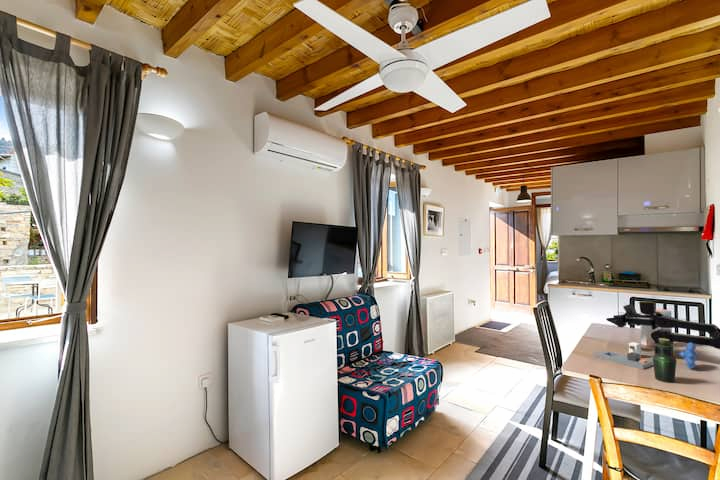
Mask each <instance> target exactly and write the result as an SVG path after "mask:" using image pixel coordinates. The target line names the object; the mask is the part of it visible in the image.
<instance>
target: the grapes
mask: <svg viewBox="0 0 720 480" xmlns="http://www.w3.org/2000/svg"><path fill="white" fill-rule="evenodd" d="M696 348H697V347H696V344H693V343H692V342H689V343H686V347H685V350H682V351H680V352H679V353H678V355H679V356H680V357H681V358H684V359H685V362H686V364H685V365H686V366H687V368H688V369H690V370H692V369H694V368H696V367H697V364H696V361H697V358H698V357H699V356H698V354H697V353H696V351H695V350H696Z"/></svg>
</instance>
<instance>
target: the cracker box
mask: <svg viewBox="0 0 720 480" xmlns="http://www.w3.org/2000/svg"><path fill="white" fill-rule="evenodd" d="M655 309H656V308H655ZM657 311H658V312H659V313H661V314H663V315H666V316H670V317H672V310H669V309H663V308H661V309H656V312H657ZM639 313H640V314H641V315H650V314H643V313H641V312H640V311H639ZM659 329H661V327H657V328H656V329H654V330H652V326H644V325H639V333H640V334H639V337H640V344H641V346H645V347H649V348H651V347H653V348H655V346H656V344H655V342H654V340H653V339H652V338H651V333H652V332H654V331H656V330H659ZM663 329H671V332H672V333H673V328H663Z"/></svg>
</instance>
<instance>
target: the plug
mask: <svg viewBox="0 0 720 480" xmlns="http://www.w3.org/2000/svg"><path fill="white" fill-rule="evenodd" d="M641 346H642V344H641V342H640V343H639V342H634V341H632V342H628V353H631V352H634V353H638V354H640V358H641V357H642V355H641V354H642V350H641V349H642V347H641Z"/></svg>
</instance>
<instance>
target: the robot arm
mask: <svg viewBox="0 0 720 480" xmlns="http://www.w3.org/2000/svg"><path fill="white" fill-rule="evenodd" d="M623 309H624V311H625V313H623V314H618V315H617V314H616V315H613V317H606V318H605V319H606V321H607V322H610V323H611V324H613V325H616V326H617V327H618V328H624V327H626V326H631V325H633V326H634V325H635V326H637V327H640V325H644V326H652V330H654V329H656V328H657V327H661V329H659V330H656V331H654V332H652V333H651V338H652V339H653V340H654V342H655V344H657V343H659V338H664V339H669V340H670V341H669V344H670V345H672V347H673V349H670V350H669V353H668V354H670V355H671V356H673V357H674V358H675V355H674V345H673V344H674V342H675V343H682V344H683V343H684V344H688V343H689V342H692V343H693V344H694V345H698V346H706V347H707V346H708V347H712V348H714V349H717V350H720V328H719V326H718V325H716V324H714V323H705V322H704V323H703V322H696V321H690V320H689V321H688V320H683V319H678V318H675V317H673V316H671V317H670V316H666V315H663V314H661V313H659V312H658V311H657V312H656V302H655V301H654V302H653V301H649V300H643V301H639V313H638V312H637V311H636V308H635V307H634V305H633V304H632V303H630V304H625V305H623ZM640 312H641V313H643V314H650V315H641V314H640ZM663 328H672V329H676V328H677V329H685V330H691V331H696V332H701V333H703V332H704V333H708V335H710V336H711V337H710V336H709V337H708V336H701V335H692V334H691V335H690V334H683V333H674V332H673V331H672V332H671V329H663ZM657 353H660V351H659V348H658V347H656V346H655V347H654V354H657Z"/></svg>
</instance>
